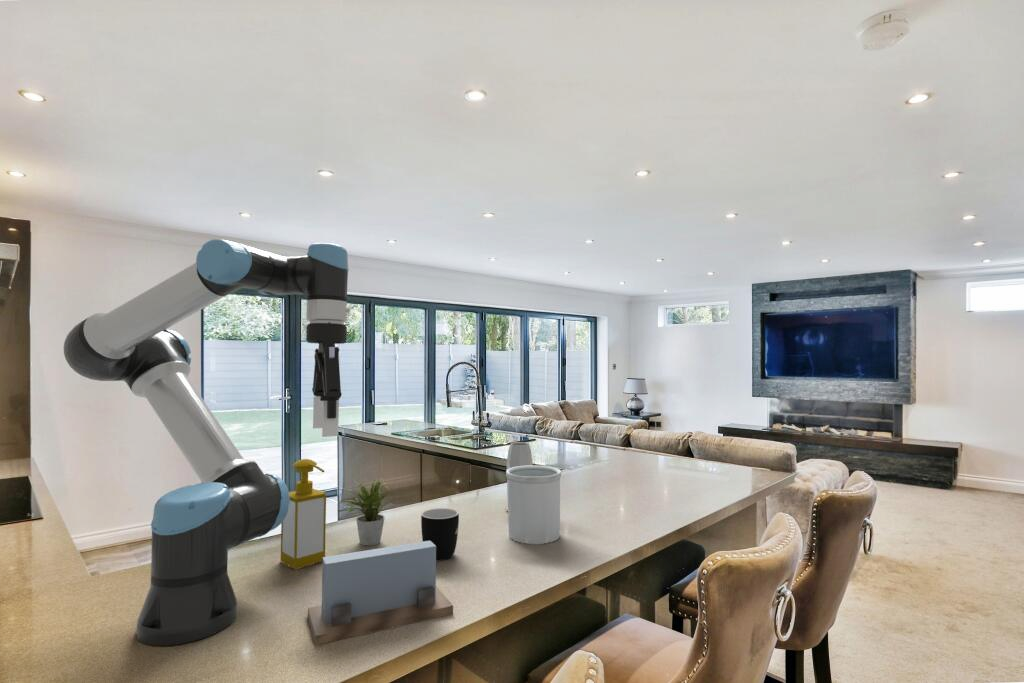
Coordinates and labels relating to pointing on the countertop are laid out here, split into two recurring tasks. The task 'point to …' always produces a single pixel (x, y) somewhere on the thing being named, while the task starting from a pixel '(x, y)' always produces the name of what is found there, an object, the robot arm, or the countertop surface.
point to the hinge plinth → (377, 617)
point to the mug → (441, 530)
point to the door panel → (377, 578)
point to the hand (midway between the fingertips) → (324, 432)
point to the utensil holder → (533, 503)
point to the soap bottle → (304, 521)
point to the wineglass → (519, 455)
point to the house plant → (369, 513)
